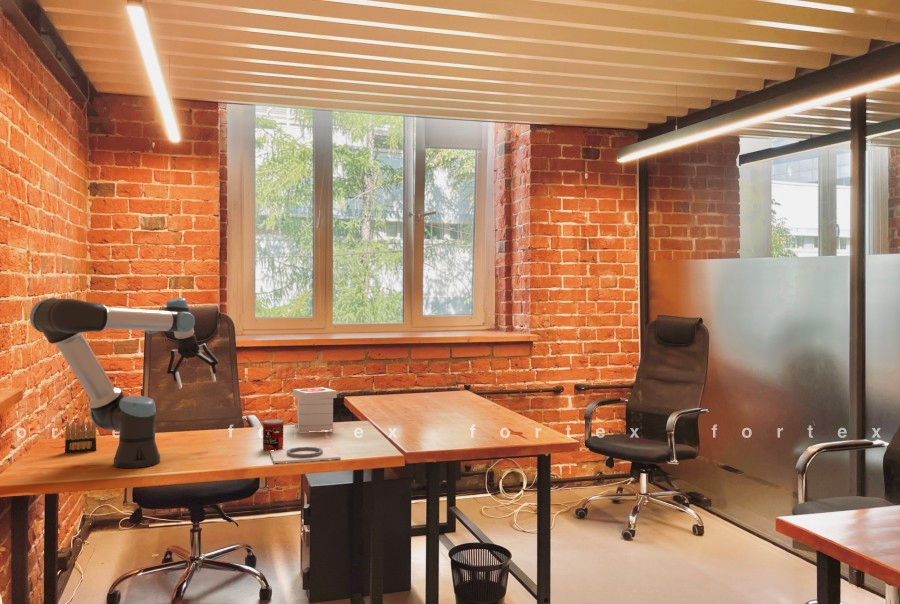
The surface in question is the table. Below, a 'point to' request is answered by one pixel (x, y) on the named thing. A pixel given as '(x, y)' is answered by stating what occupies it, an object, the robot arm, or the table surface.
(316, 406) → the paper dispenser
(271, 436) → the canned food
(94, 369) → the robot arm
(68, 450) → the ammunition clip
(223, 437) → the table surface
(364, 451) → the table surface
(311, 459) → the carrier plate
